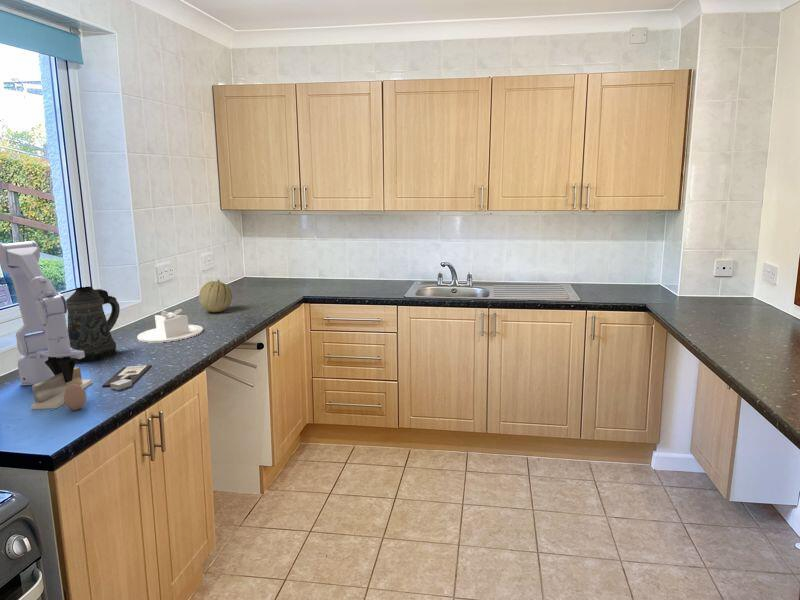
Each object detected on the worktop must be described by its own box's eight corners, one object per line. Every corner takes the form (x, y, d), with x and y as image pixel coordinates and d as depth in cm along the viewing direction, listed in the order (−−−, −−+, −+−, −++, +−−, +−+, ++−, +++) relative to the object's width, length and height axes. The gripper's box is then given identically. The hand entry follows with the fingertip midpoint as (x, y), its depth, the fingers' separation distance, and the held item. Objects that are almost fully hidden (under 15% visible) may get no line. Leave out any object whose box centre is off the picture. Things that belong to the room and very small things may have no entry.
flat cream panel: (31, 409, 161) (30, 405, 160) (69, 384, 180) (68, 380, 180) (57, 407, 161) (56, 403, 160) (92, 382, 180) (91, 379, 180)
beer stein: (55, 363, 203) (42, 293, 198) (91, 347, 222) (80, 283, 217) (98, 363, 201) (86, 292, 195) (131, 347, 219) (121, 281, 214)
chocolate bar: (102, 385, 176) (123, 367, 193) (102, 388, 176) (123, 369, 193) (132, 383, 177) (151, 364, 194) (133, 386, 177) (151, 367, 194)
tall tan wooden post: (35, 402, 162) (31, 385, 161) (76, 382, 177) (74, 367, 176) (41, 403, 162) (38, 386, 161) (82, 382, 177) (79, 367, 176)
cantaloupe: (194, 315, 268) (190, 283, 265) (210, 308, 282) (206, 277, 279) (224, 315, 265) (220, 283, 262) (238, 308, 279) (235, 277, 276)
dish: (216, 331, 239) (212, 304, 236) (162, 347, 218) (158, 318, 216) (178, 325, 252) (174, 299, 250) (124, 339, 232) (120, 312, 229)
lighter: (119, 390, 172) (143, 382, 179) (118, 385, 172) (142, 376, 178) (105, 387, 176) (129, 378, 182) (104, 381, 175) (128, 373, 182)
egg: (92, 405, 161) (87, 380, 160) (80, 413, 156) (76, 387, 155) (73, 405, 162) (69, 380, 160) (61, 413, 156) (57, 387, 155)
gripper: (88, 333, 171) (96, 377, 174) (46, 333, 174) (54, 376, 177) (71, 339, 164) (79, 385, 167) (27, 339, 167) (36, 384, 170)
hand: (65, 381), depth 172 cm, fingers closed on tall tan wooden post, 2 cm apart
